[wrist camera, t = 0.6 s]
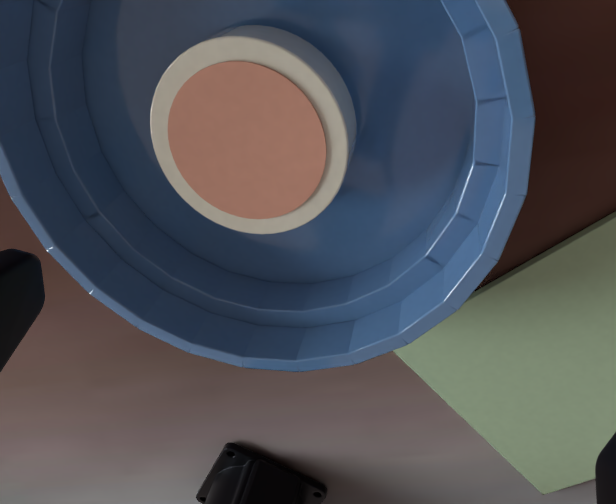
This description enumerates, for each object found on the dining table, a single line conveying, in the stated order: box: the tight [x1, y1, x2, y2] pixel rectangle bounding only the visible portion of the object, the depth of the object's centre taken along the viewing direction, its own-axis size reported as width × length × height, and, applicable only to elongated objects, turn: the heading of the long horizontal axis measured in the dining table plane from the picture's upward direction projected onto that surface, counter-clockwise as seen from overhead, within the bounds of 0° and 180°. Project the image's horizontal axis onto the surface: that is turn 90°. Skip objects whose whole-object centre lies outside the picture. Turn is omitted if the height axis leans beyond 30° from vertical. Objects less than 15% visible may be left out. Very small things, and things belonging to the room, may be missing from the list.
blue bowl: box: [0, 0, 536, 372], centre depth 18 cm, size 17×17×4 cm
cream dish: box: [150, 25, 356, 234], centre depth 19 cm, size 7×7×3 cm
